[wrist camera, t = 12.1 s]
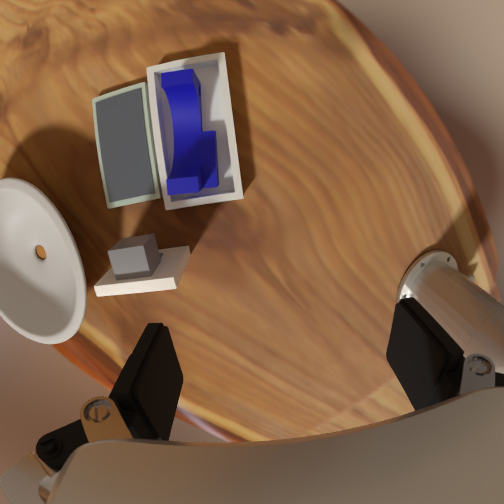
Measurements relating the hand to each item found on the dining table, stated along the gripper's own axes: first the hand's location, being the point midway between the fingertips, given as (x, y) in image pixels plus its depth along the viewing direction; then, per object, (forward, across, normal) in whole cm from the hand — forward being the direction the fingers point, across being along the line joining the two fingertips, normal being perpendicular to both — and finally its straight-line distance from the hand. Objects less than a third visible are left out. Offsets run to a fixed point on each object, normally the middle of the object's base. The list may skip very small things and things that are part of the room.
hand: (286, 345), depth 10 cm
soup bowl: (+22, +33, +1) cm, 40 cm away
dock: (+23, +6, -11) cm, 26 cm away
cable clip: (+23, +6, -10) cm, 26 cm away
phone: (+23, +15, -11) cm, 29 cm away
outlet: (+23, +14, +2) cm, 27 cm away
